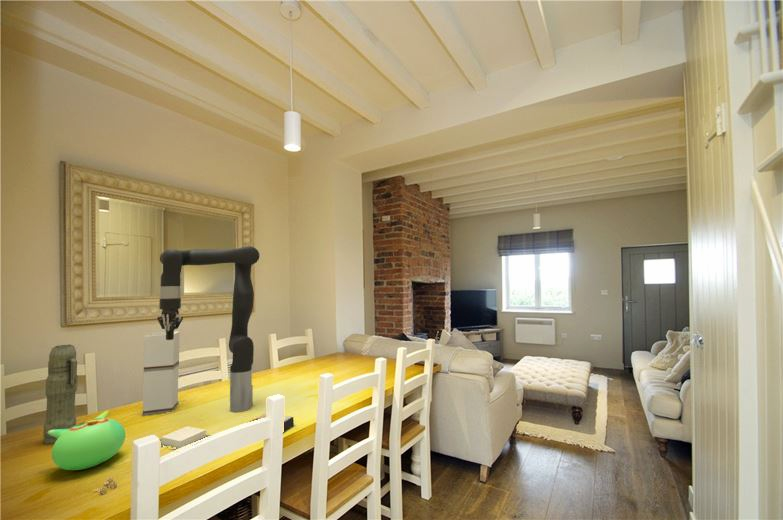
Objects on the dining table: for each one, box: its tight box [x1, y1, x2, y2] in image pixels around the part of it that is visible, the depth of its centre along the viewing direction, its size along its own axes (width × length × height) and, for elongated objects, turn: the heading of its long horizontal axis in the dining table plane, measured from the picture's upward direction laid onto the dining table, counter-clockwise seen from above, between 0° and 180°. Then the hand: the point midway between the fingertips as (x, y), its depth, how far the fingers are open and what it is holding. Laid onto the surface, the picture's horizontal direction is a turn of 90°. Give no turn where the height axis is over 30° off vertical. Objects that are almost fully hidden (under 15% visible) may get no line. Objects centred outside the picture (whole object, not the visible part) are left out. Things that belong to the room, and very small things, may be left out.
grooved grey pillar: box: [142, 331, 181, 417], centre depth 163 cm, size 11×11×35 cm
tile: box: [160, 426, 207, 448], centre depth 128 cm, size 3×10×10 cm
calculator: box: [249, 413, 295, 433], centre depth 138 cm, size 11×4×15 cm
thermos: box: [42, 344, 78, 446], centre depth 134 cm, size 9×12×35 cm
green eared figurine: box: [47, 410, 126, 471], centre depth 113 cm, size 18×17×15 cm
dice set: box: [92, 477, 117, 496], centre depth 99 cm, size 5×5×2 cm
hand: (169, 339), depth 144 cm, fingers closed
